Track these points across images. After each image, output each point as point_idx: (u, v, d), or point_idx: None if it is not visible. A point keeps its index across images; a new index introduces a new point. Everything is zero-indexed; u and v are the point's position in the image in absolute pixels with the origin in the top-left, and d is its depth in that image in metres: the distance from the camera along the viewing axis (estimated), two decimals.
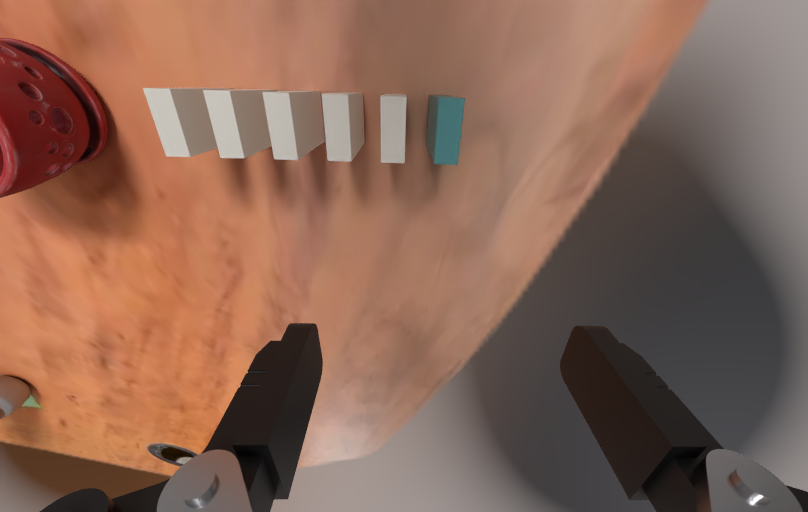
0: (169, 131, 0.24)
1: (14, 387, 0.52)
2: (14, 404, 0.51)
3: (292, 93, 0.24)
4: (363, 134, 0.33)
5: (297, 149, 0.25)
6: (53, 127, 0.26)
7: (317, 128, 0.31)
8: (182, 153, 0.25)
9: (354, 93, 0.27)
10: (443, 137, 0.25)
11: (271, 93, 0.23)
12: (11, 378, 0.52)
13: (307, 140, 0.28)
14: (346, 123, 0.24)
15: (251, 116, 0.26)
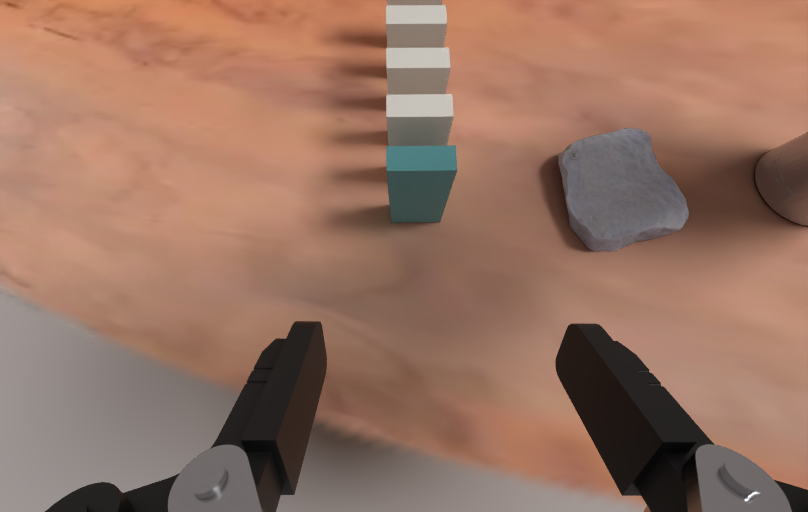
0: None
1: None
2: None
3: (444, 34, 0.26)
4: None
5: (396, 25, 0.25)
6: None
7: None
8: None
9: None
10: (416, 153, 0.22)
11: (445, 11, 0.25)
12: None
13: None
14: (424, 65, 0.24)
15: None
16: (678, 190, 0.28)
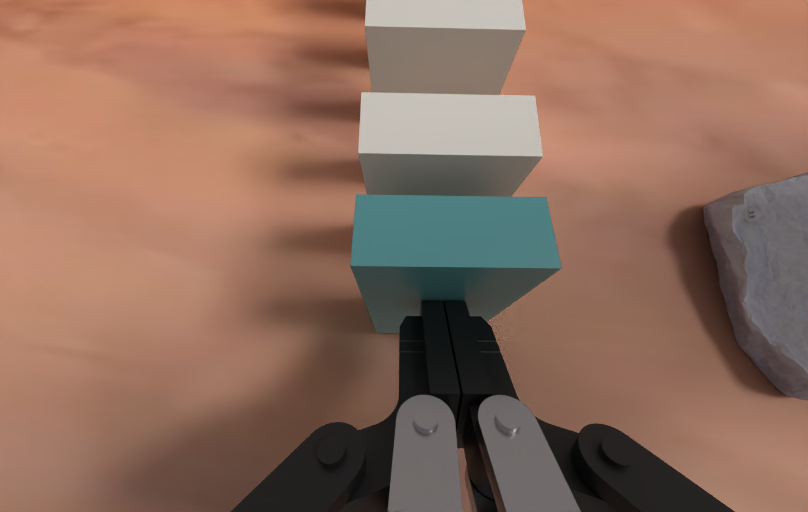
0: None
1: None
2: None
3: None
4: None
5: None
6: None
7: None
8: None
9: None
10: (438, 215, 0.08)
11: None
12: None
13: None
14: (460, 23, 0.09)
15: None
16: None
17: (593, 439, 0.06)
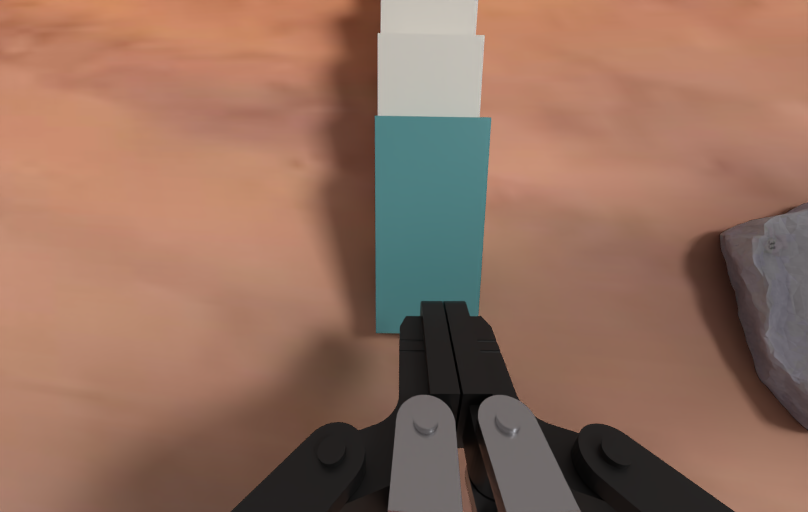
0: None
1: None
2: None
3: None
4: None
5: None
6: None
7: None
8: None
9: None
10: None
11: None
12: None
13: None
14: None
15: None
16: None
17: (593, 439, 0.06)
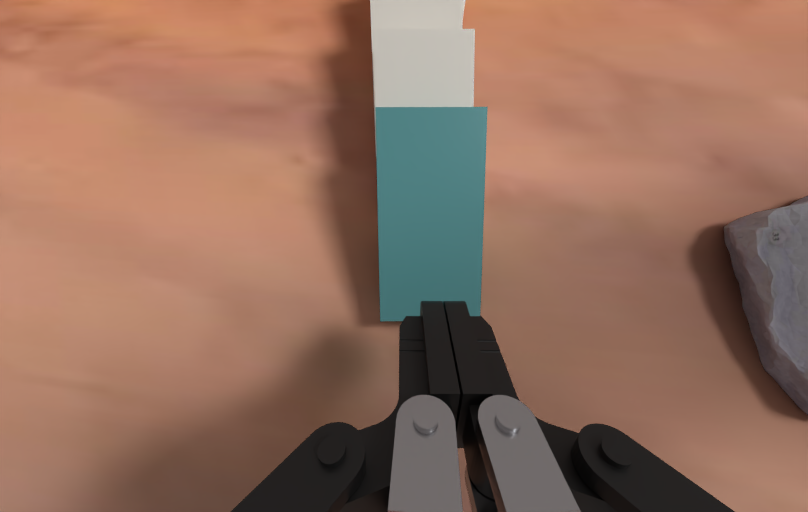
0: None
1: None
2: None
3: None
4: None
5: None
6: None
7: None
8: None
9: None
10: None
11: None
12: None
13: None
14: None
15: None
16: None
17: (593, 439, 0.06)
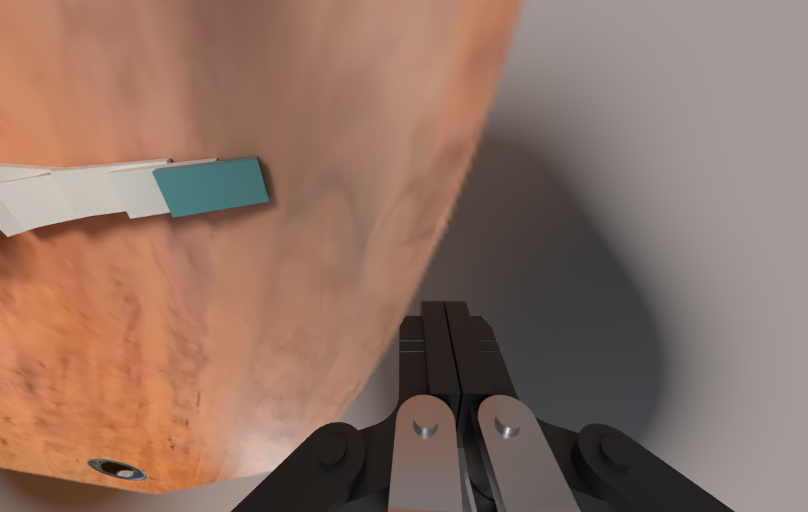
0: None
1: None
2: None
3: (3, 183, 0.31)
4: None
5: (20, 222, 0.33)
6: None
7: None
8: None
9: (107, 166, 0.32)
10: None
11: None
12: None
13: (57, 212, 0.34)
14: (62, 191, 0.32)
15: (3, 208, 0.35)
16: None
17: (593, 439, 0.06)
